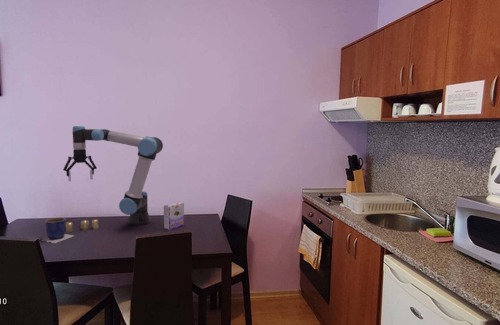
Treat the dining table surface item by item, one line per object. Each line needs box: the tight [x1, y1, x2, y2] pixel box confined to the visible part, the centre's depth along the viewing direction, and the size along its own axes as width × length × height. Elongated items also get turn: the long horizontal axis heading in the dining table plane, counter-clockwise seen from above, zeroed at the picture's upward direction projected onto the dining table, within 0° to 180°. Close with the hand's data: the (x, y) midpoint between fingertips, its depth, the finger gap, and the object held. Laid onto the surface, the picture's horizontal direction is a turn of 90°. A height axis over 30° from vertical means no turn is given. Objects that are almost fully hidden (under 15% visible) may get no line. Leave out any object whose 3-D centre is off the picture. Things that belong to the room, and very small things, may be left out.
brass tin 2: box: [80, 219, 89, 231], centre depth 217 cm, size 4×4×6 cm
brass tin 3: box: [91, 218, 99, 230], centre depth 219 cm, size 4×4×6 cm
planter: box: [44, 217, 67, 239], centre depth 198 cm, size 11×11×11 cm
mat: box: [46, 233, 75, 244], centre depth 199 cm, size 14×14×1 cm
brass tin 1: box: [66, 221, 74, 233], centre depth 212 cm, size 4×4×6 cm
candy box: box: [163, 201, 185, 231], centre depth 224 cm, size 14×6×16 cm, turn 145°
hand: (80, 180), depth 220 cm, fingers open, 13 cm apart
